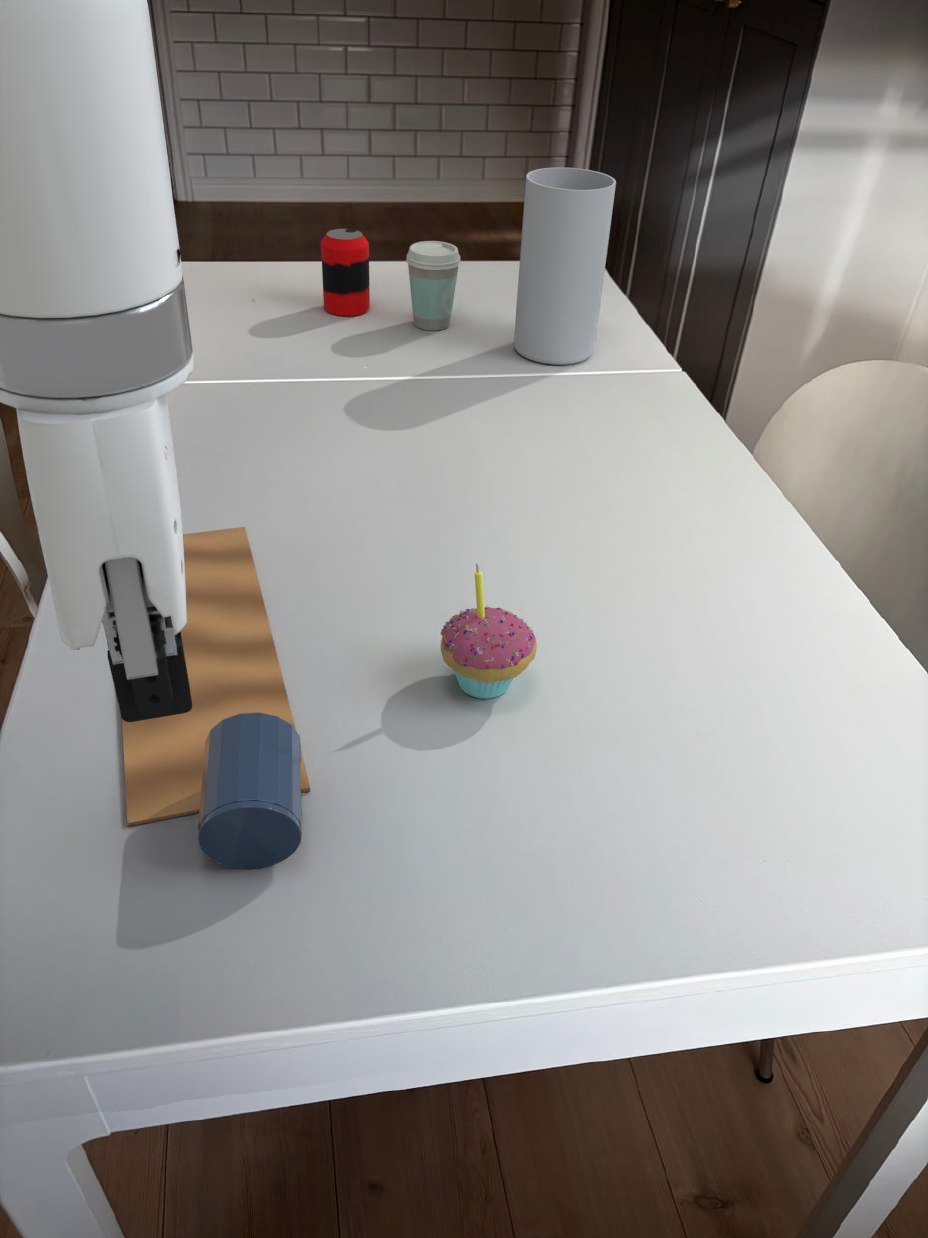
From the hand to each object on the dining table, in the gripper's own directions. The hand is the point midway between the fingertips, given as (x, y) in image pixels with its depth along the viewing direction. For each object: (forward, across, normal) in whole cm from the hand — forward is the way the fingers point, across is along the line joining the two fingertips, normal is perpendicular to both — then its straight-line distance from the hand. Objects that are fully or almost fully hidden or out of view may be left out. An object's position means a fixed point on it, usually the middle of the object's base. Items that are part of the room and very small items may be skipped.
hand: (157, 705), depth 47 cm
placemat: (+27, -38, +2) cm, 47 cm away
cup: (+24, -11, +4) cm, 26 cm away
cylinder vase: (+27, -98, +62) cm, 119 cm away
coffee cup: (+27, -112, +46) cm, 124 cm away
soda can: (+27, -122, +34) cm, 129 cm away
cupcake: (+27, -27, +27) cm, 47 cm away
